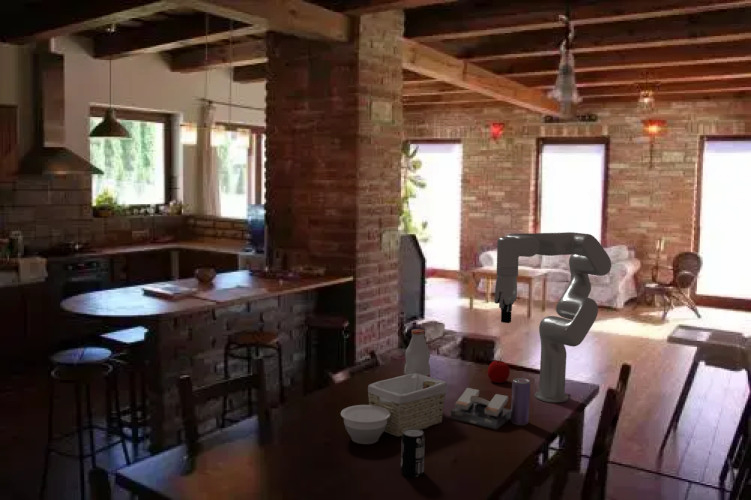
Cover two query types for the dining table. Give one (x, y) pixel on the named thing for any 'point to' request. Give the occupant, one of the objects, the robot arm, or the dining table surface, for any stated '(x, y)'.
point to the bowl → (365, 422)
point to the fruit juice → (417, 355)
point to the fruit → (498, 371)
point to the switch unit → (481, 416)
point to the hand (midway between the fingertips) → (506, 322)
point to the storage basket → (409, 401)
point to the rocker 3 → (496, 405)
